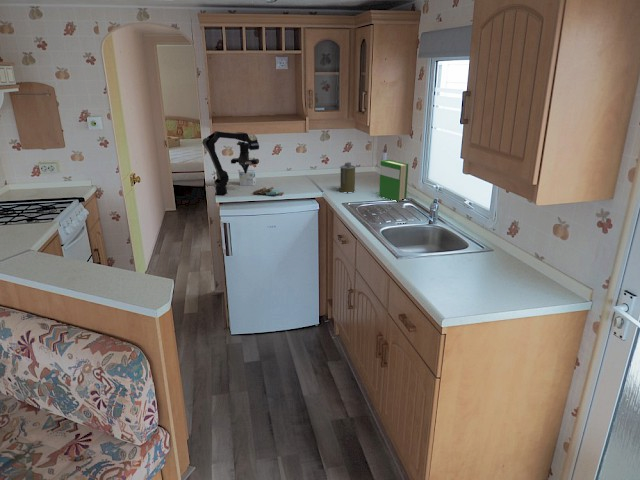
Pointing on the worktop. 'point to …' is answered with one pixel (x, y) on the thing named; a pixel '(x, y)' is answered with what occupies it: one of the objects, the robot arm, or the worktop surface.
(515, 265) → the worktop surface
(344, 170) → the canister
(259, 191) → the domino
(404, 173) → the hardback book
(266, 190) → the domino
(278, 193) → the domino
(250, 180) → the light bulb box
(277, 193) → the teal domino
